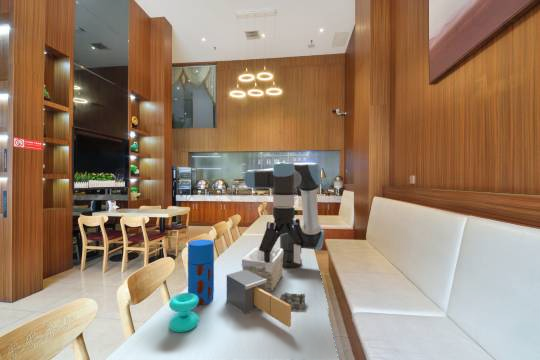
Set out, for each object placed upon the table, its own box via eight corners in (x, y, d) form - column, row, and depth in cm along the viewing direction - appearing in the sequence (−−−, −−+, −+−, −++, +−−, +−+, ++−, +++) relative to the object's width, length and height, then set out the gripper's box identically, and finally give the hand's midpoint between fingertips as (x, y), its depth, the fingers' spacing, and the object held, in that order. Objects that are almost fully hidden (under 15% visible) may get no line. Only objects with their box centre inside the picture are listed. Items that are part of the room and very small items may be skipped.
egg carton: (278, 307, 104) (278, 297, 104) (281, 299, 111) (281, 290, 111) (304, 310, 101) (304, 300, 101) (306, 302, 109) (306, 292, 109)
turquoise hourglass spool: (170, 293, 94) (198, 290, 97) (170, 320, 94) (198, 316, 97) (167, 306, 85) (198, 302, 87) (167, 336, 85) (198, 331, 87)
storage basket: (272, 294, 116) (272, 261, 116) (240, 289, 120) (240, 258, 120) (284, 274, 139) (284, 248, 139) (256, 271, 143) (256, 245, 143)
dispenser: (226, 300, 109) (226, 274, 109) (245, 293, 115) (245, 269, 115) (246, 315, 98) (246, 286, 97) (266, 306, 104) (266, 279, 104)
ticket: (250, 302, 103) (250, 285, 103) (253, 301, 104) (253, 284, 104) (288, 327, 86) (288, 306, 86) (291, 325, 87) (291, 305, 87)
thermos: (191, 294, 115) (191, 239, 115) (215, 293, 116) (215, 239, 116) (185, 306, 104) (185, 246, 104) (211, 305, 105) (211, 245, 105)
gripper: (300, 203, 100) (300, 257, 100) (248, 208, 84) (248, 272, 84) (315, 205, 94) (314, 261, 94) (262, 210, 78) (262, 279, 78)
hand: (283, 267), depth 89 cm, fingers open, 13 cm apart
